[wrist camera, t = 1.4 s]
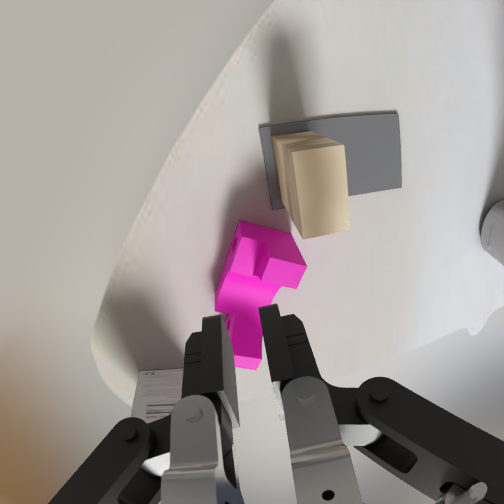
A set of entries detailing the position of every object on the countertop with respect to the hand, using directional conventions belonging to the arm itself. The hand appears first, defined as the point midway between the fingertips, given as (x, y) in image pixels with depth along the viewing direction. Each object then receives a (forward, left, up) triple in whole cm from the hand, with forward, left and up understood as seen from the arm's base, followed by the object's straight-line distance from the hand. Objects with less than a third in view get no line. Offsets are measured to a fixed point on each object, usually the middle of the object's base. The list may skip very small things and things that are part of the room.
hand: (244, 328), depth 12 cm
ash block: (-7, 0, -23) cm, 24 cm away
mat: (-12, 0, -23) cm, 26 cm away
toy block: (+1, +13, -24) cm, 27 cm away
